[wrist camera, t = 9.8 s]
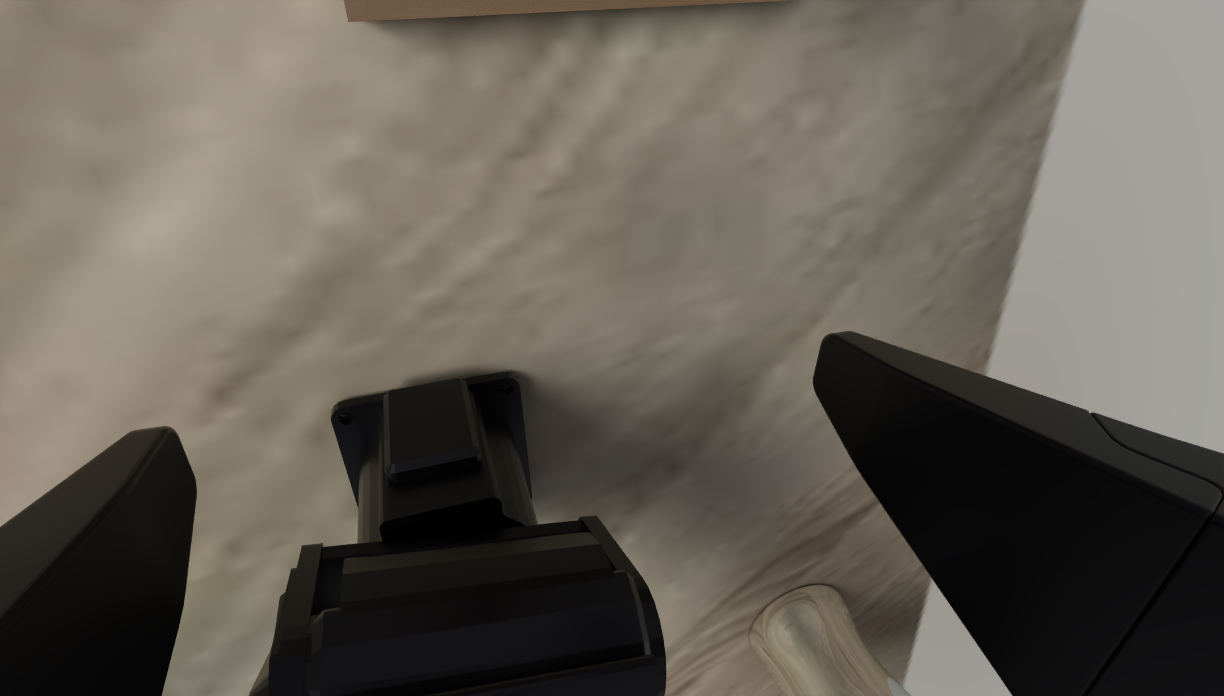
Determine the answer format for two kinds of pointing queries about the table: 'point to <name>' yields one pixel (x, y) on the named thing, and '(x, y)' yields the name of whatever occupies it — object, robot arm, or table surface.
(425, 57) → the table surface
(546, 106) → the table surface
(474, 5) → the square wooden board
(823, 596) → the beer glass
